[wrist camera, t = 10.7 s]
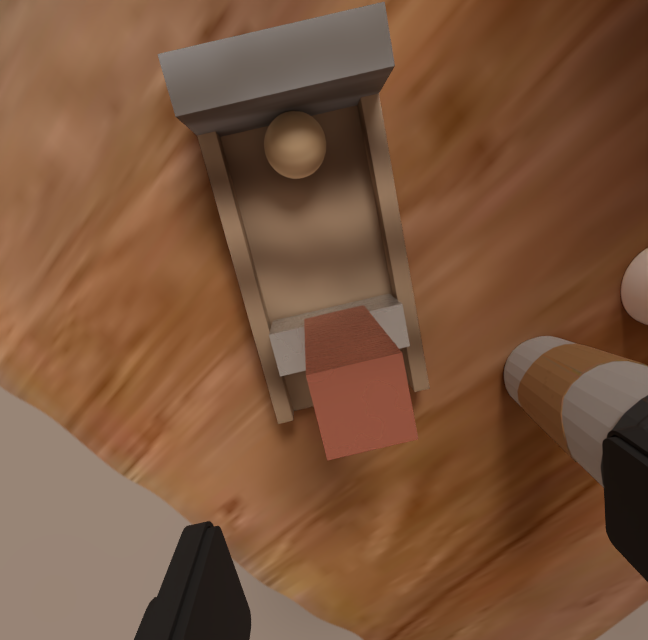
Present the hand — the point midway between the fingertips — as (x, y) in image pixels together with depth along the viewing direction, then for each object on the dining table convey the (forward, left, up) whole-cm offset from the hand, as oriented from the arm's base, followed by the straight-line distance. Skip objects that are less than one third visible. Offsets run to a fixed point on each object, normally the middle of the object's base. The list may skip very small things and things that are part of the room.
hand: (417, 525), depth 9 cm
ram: (0, 0, -21) cm, 21 cm away
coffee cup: (+9, +16, -23) cm, 29 cm away
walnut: (-12, 0, -21) cm, 24 cm away
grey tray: (-5, 0, -23) cm, 23 cm away
